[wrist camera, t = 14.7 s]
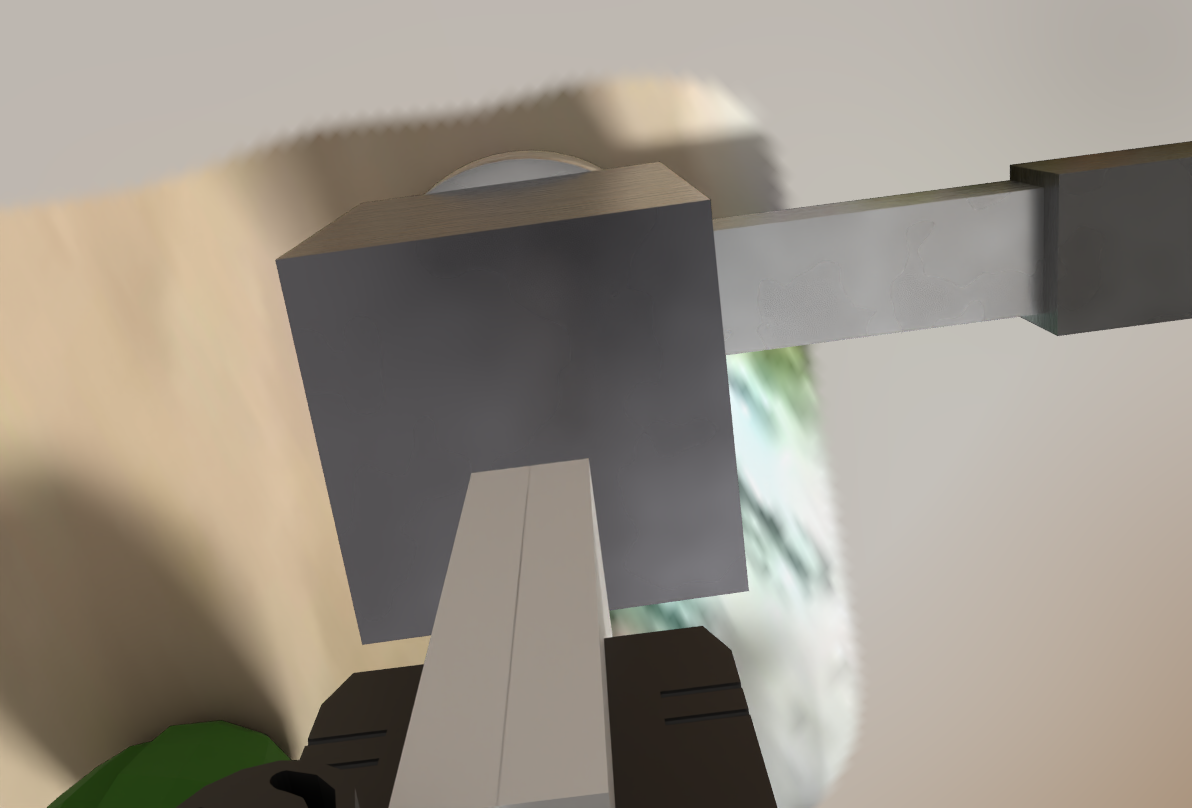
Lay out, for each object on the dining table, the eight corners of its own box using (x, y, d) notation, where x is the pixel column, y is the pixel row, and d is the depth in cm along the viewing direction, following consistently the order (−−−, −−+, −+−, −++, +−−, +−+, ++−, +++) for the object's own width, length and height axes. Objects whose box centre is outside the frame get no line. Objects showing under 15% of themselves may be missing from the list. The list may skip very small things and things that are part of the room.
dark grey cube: (660, 161, 24) (710, 199, 17) (691, 442, 26) (748, 591, 19) (361, 202, 24) (275, 260, 17) (416, 480, 26) (362, 644, 19)
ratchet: (1430, 31, 27) (1718, 16, 20) (1396, 330, 29) (1644, 404, 23) (357, 171, 27) (293, 202, 20) (412, 459, 29) (371, 571, 23)
